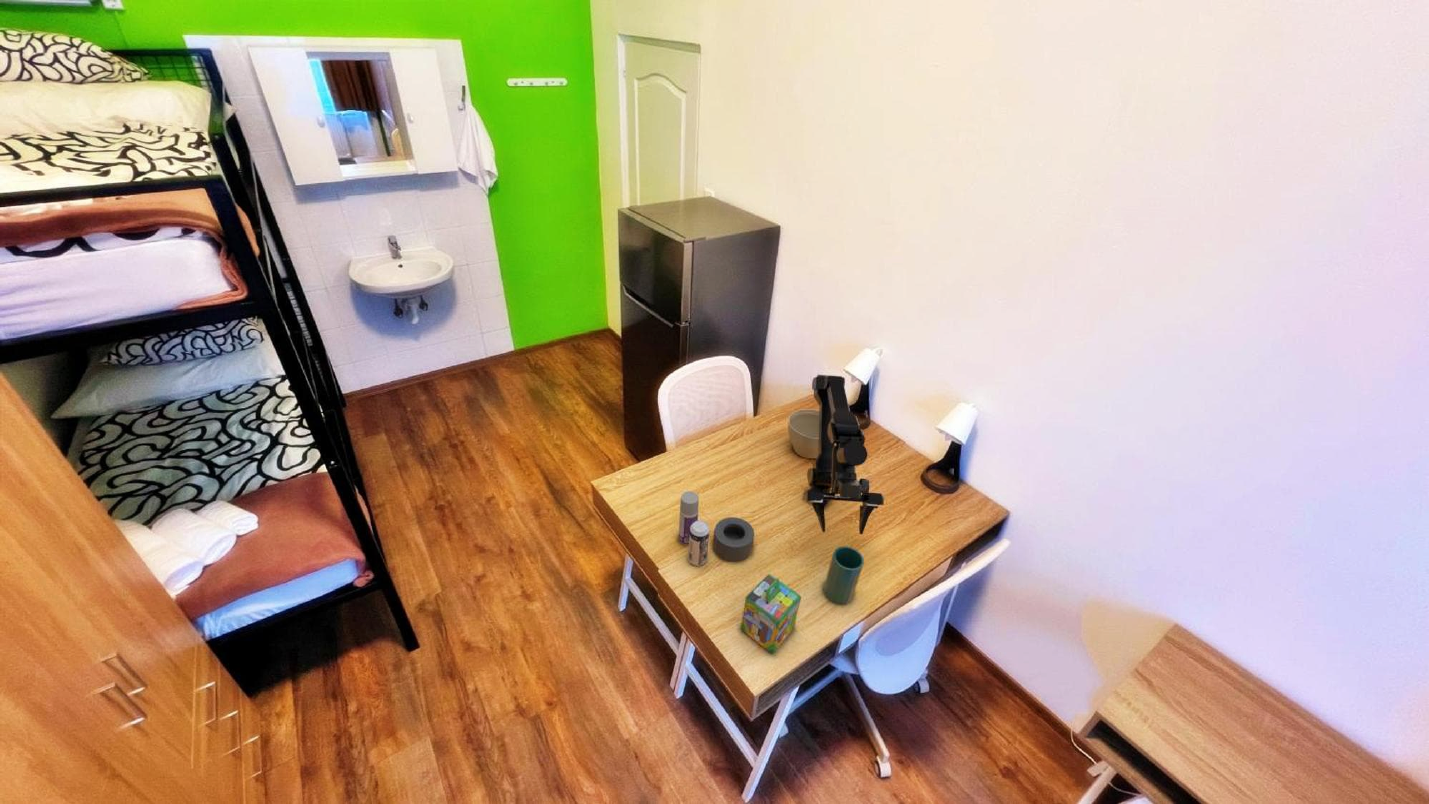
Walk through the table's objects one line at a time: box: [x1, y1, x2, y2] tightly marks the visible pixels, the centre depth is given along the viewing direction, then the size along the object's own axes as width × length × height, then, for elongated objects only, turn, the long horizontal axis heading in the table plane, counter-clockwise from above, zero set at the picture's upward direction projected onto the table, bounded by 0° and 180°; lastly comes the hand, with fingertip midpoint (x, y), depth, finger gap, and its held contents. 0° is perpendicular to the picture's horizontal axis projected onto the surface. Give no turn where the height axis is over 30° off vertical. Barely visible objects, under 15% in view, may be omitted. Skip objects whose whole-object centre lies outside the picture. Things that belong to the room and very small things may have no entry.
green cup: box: [823, 545, 865, 605], centre depth 132 cm, size 7×7×12 cm
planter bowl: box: [787, 408, 819, 459], centre depth 179 cm, size 16×16×11 cm
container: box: [677, 490, 700, 547], centre depth 142 cm, size 5×5×15 cm
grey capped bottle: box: [687, 519, 711, 567], centre depth 138 cm, size 5×5×12 cm
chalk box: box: [740, 573, 802, 655], centre depth 122 cm, size 9×9×15 cm
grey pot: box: [712, 516, 755, 563], centre depth 144 cm, size 10×10×6 cm
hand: (842, 533), depth 135 cm, fingers open, 9 cm apart
